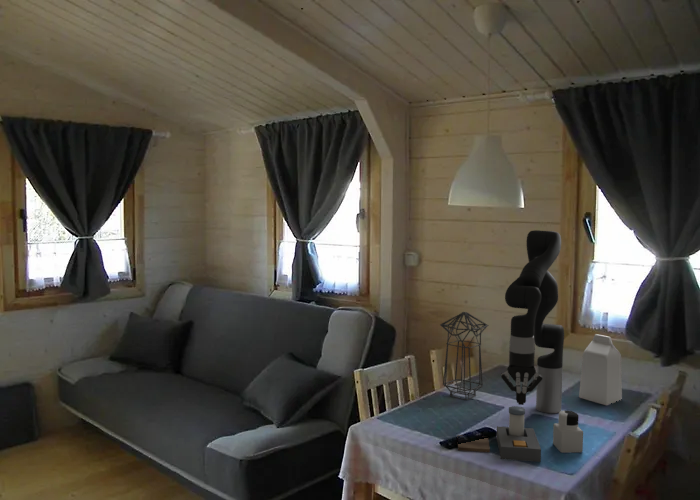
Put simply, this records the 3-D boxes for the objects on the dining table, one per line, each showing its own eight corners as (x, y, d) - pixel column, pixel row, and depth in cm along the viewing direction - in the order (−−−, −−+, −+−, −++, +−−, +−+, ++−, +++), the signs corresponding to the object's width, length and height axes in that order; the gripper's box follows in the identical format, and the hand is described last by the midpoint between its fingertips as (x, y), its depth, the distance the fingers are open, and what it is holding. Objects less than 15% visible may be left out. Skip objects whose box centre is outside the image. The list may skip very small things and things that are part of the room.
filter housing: (496, 437, 202) (496, 426, 202) (533, 440, 200) (533, 428, 200) (500, 459, 185) (501, 446, 185) (540, 461, 183) (541, 449, 183)
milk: (578, 397, 244) (581, 334, 242) (594, 392, 251) (596, 331, 249) (606, 405, 234) (608, 340, 232) (621, 399, 241) (624, 336, 239)
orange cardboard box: (513, 452, 189) (513, 440, 189) (524, 453, 189) (525, 440, 188) (514, 457, 186) (514, 444, 185) (526, 458, 185) (526, 445, 185)
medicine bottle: (573, 443, 197) (575, 408, 196) (582, 452, 190) (584, 416, 189) (552, 444, 197) (553, 408, 196) (560, 453, 190) (562, 416, 189)
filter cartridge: (507, 440, 200) (508, 405, 199) (523, 441, 199) (524, 406, 198) (508, 446, 195) (509, 411, 194) (525, 448, 194) (526, 412, 193)
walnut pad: (457, 438, 202) (457, 435, 202) (487, 440, 200) (487, 437, 200) (458, 450, 192) (458, 447, 192) (489, 452, 190) (489, 449, 190)
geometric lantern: (436, 396, 245) (437, 312, 243) (456, 388, 257) (458, 307, 255) (470, 404, 235) (471, 316, 233) (489, 395, 246) (491, 311, 244)
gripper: (542, 347, 187) (540, 401, 189) (499, 345, 189) (498, 398, 191) (546, 353, 180) (544, 409, 181) (501, 351, 182) (500, 407, 183)
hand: (520, 403), depth 186 cm, fingers closed
